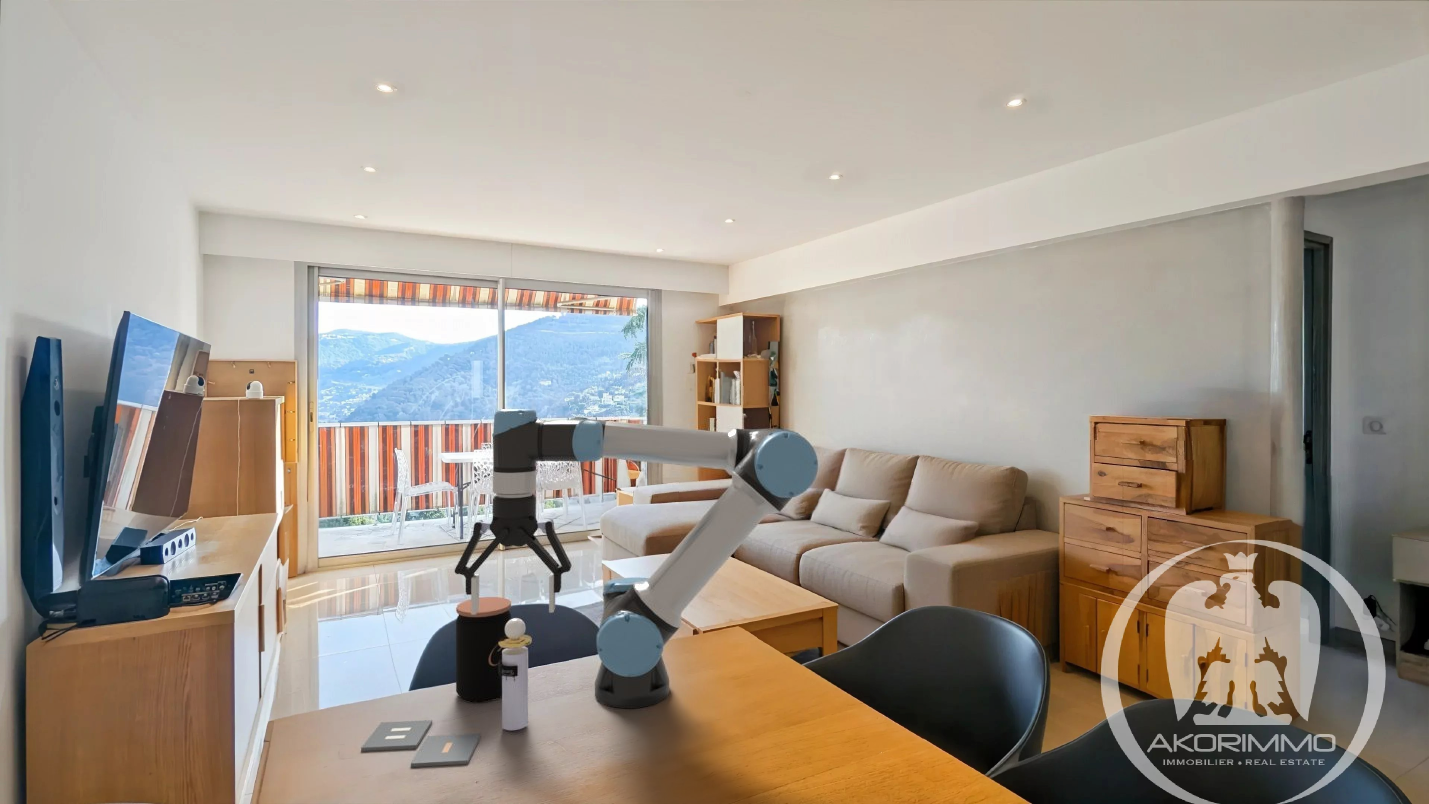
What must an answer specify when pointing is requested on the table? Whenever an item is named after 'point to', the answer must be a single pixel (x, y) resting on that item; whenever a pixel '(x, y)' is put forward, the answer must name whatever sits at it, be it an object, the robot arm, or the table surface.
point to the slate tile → (446, 750)
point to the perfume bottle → (514, 675)
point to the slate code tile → (397, 735)
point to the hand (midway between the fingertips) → (513, 611)
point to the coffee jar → (480, 649)
